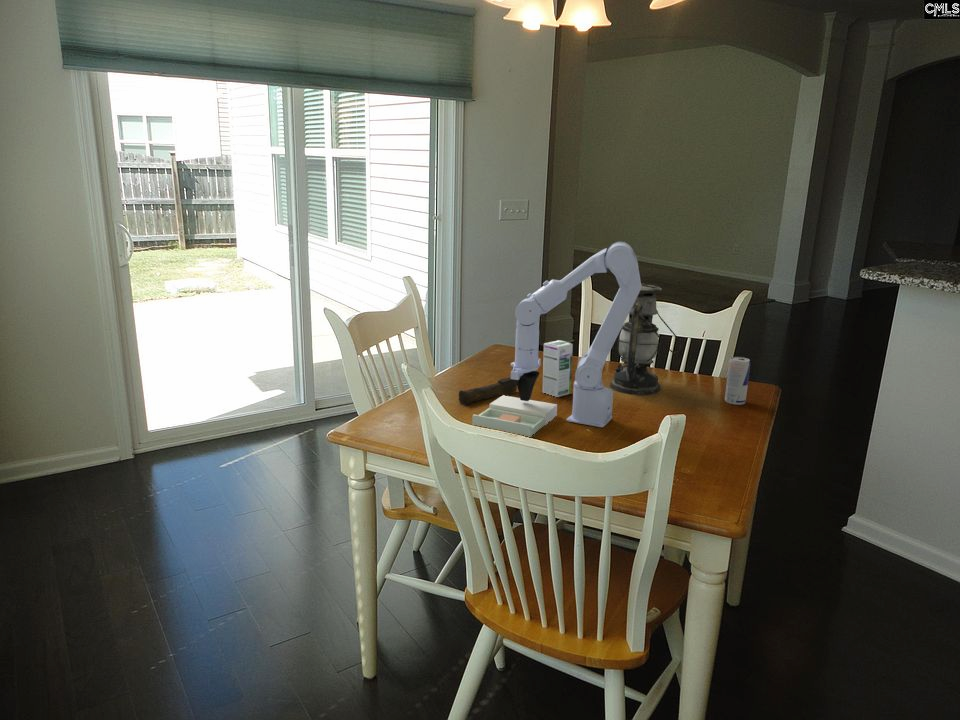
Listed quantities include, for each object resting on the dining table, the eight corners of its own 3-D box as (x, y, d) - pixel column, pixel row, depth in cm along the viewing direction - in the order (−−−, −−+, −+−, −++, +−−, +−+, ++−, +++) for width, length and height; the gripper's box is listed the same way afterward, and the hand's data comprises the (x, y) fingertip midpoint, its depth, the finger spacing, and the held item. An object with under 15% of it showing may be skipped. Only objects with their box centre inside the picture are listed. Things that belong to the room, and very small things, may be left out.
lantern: (619, 375, 213) (626, 276, 205) (683, 384, 205) (693, 282, 197) (601, 392, 196) (608, 285, 188) (670, 402, 188) (680, 292, 180)
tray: (544, 425, 170) (545, 414, 169) (530, 438, 162) (530, 425, 161) (488, 415, 176) (489, 404, 175) (472, 426, 168) (472, 415, 168)
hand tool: (466, 407, 183) (466, 390, 181) (457, 403, 186) (457, 386, 185) (522, 395, 194) (523, 379, 192) (513, 391, 197) (514, 375, 195)
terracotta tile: (513, 422, 165) (512, 430, 165) (520, 416, 169) (520, 424, 169) (495, 419, 167) (495, 427, 167) (503, 413, 170) (503, 421, 171)
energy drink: (748, 402, 190) (754, 359, 187) (740, 406, 186) (745, 363, 183) (729, 397, 193) (734, 355, 190) (721, 402, 190) (726, 359, 186)
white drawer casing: (556, 415, 177) (557, 404, 176) (545, 425, 170) (545, 413, 169) (502, 406, 183) (502, 395, 182) (489, 415, 176) (489, 403, 176)
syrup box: (557, 398, 190) (559, 346, 187) (541, 392, 195) (543, 342, 191) (571, 394, 194) (573, 343, 190) (555, 389, 198) (557, 339, 194)
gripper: (523, 339, 181) (521, 389, 184) (499, 352, 168) (498, 405, 172) (549, 343, 178) (546, 394, 181) (526, 355, 165) (525, 410, 169)
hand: (525, 400), depth 176 cm, fingers closed
